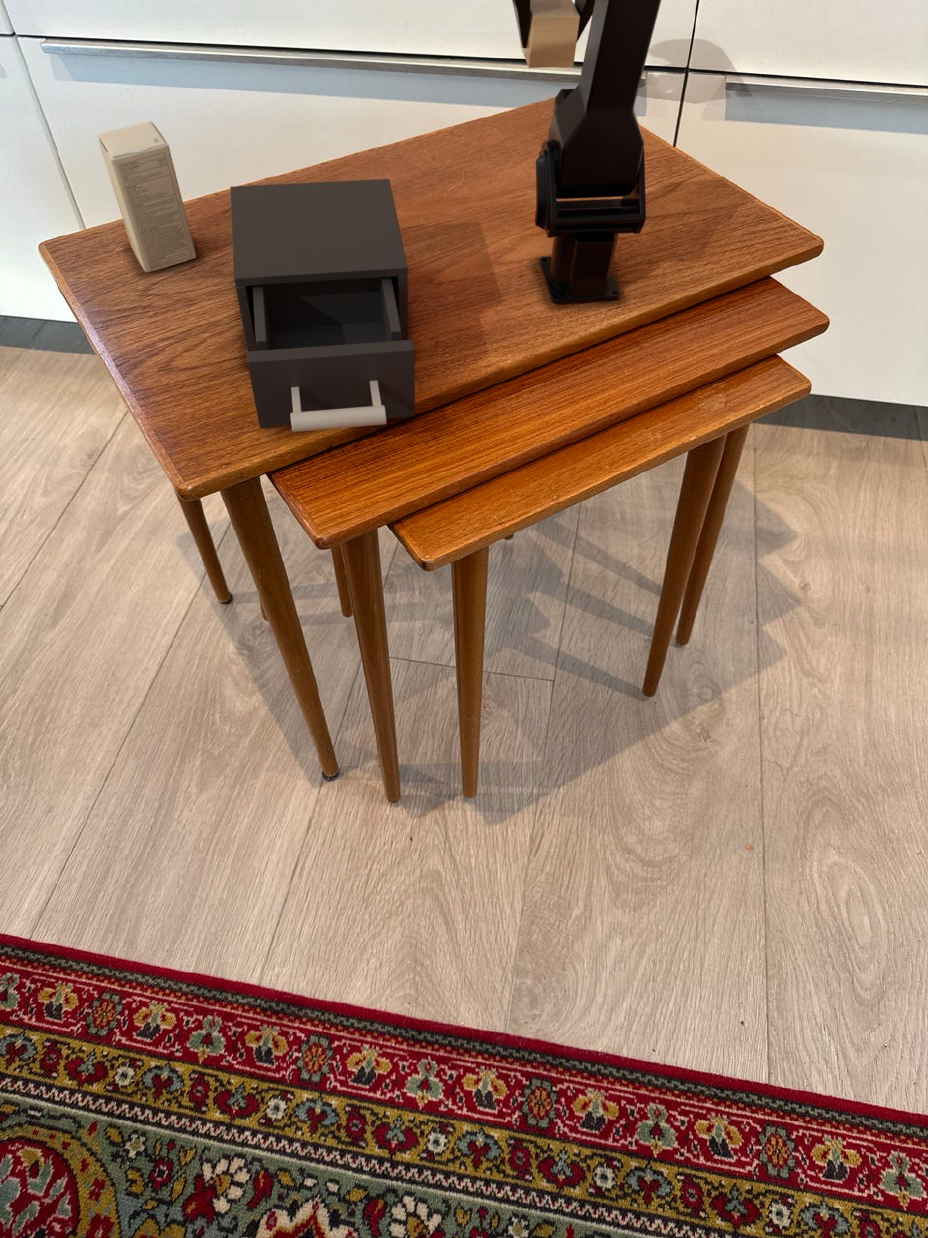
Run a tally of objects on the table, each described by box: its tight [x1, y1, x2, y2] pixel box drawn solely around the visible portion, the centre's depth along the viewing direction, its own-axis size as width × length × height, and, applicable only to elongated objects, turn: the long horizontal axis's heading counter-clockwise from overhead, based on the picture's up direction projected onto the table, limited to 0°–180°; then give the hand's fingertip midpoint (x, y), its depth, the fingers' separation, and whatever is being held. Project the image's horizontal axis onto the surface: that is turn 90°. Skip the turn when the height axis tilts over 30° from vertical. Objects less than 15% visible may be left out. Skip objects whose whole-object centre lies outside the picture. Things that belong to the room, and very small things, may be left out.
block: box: [519, 0, 580, 69], centre depth 89 cm, size 4×4×4 cm
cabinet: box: [229, 178, 409, 352], centre depth 79 cm, size 13×14×9 cm
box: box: [96, 120, 197, 273], centre depth 82 cm, size 5×4×11 cm
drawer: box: [246, 277, 416, 433], centre depth 73 cm, size 16×12×7 cm
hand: (547, 45), depth 90 cm, fingers closed on block, 4 cm apart
